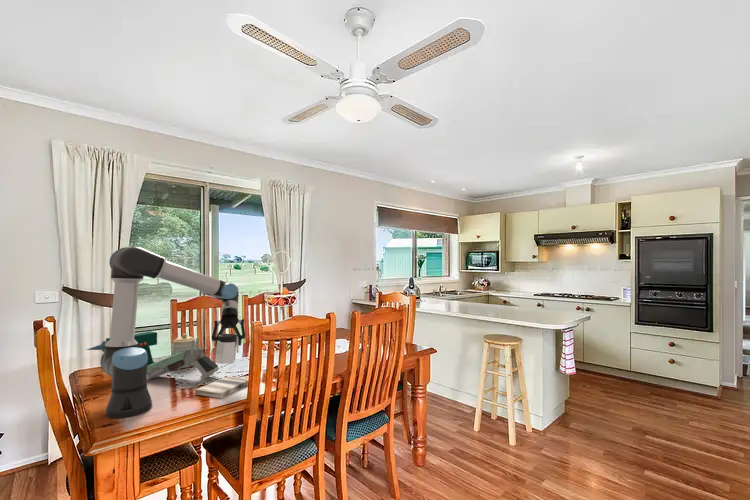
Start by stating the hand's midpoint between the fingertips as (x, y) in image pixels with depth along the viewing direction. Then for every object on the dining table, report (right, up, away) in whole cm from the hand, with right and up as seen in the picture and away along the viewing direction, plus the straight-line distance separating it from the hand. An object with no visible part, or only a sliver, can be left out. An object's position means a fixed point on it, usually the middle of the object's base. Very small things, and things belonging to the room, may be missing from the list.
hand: (228, 351), depth 170 cm
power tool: (-61, -18, +19) cm, 67 cm away
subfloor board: (-2, -17, +1) cm, 17 cm away
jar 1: (-40, -18, +38) cm, 58 cm away
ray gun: (-30, -18, +17) cm, 38 cm away
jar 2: (-2, -5, +2) cm, 6 cm away
